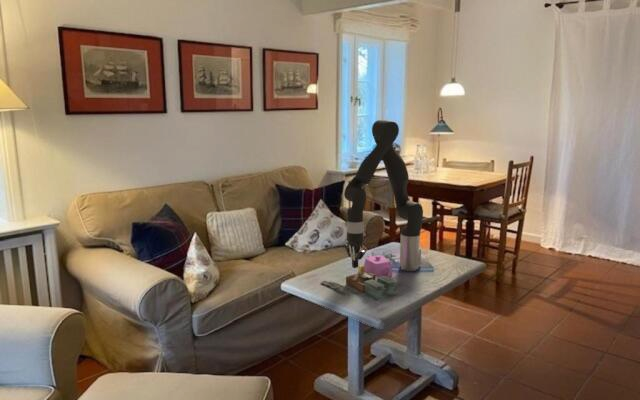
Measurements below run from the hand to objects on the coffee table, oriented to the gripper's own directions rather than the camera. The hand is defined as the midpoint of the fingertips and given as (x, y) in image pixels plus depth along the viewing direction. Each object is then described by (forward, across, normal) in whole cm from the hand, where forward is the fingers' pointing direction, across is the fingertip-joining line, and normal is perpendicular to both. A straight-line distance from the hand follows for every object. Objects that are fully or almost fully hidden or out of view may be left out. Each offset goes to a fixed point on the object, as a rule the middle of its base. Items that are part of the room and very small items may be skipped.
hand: (355, 267), depth 222 cm
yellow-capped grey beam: (+3, -8, 0) cm, 8 cm away
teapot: (+7, -2, -12) cm, 15 cm away
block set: (+7, -11, 0) cm, 13 cm away
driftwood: (+8, -2, +11) cm, 13 cm away
